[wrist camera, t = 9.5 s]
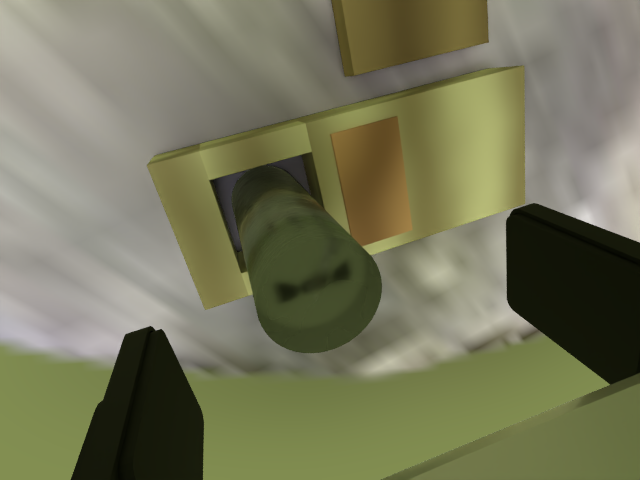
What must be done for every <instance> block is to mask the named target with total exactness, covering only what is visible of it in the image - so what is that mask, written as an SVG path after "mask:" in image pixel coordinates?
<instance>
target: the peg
mask: <svg viewBox="0 0 640 480" xmlns="http://www.w3.org/2000/svg"><path fill="white" fill-rule="evenodd" d="M232 207H233V212H234V216H235V220H236V224H237V229H238V233H239V237H240V242H241V246H242V250H243V254H244V259H245V263H246V267H247V271H248V276H249V280H250V284H251V288H252V293H253V297H254V301H255V306H256V310H257V314H258V318H259V321H260V323H261V326H262V327H263V329H264V331H265V332H266V333H267V335H268V336H269V337H270V338H271V339H272V340H273V341H275V342H276V343H277V344H279V345H280V346H282V347H284V348H287V349H289V350H292V351H296V352H301V353H319V352H324V351H329V350H332V349H335V348H337V347H340V346H342V345H344V344H346V343H347V342H349V341H350V340H352V339H353V338H355V337H356V336H357V335H358V334H359V333H361V332H362V331H363V330H364V328H365V327H366V326H367V325H368V324H369V322H370V321H371V319H372V318H373V316H374V314H375V312H376V310H377V308H378V305H379V302H380V298H381V292H382V283H381V276H380V272H379V269H378V267H377V264H376V263H375V261H374V259H373V258H372V257H371V256H370V254H369V253H368V252H367V251H366V250H365V249H364V248H363V247H362V246H361V245H360V244H359V243H358V242H357V241H356V240H355V239H354V238H353V237H352V236H351V235H350V234H349V233H348V232H347V231H346V230H345V229H344V228H343V227H342V226H341V225H340V224H339V223H338V222H337V221H336V220H335V219H334V218H333V217H332V216H331V215H330V214H329V213H328V212H327V211H326V210H325V209H324V208H323V207H322V206H321V205H320V204H319V203H318V202H317V201H316V200H315V199H314V198H313V197H312V196H311V195H310V194H309V193H308V192H307V191H306V190H305V189H304V188H303V187H302V186H301V185H300V184H299V183H298V182H297V181H296V180H295V179H294V178H293V177H292V176H291V175H290V174H289V173H288V172H286V171H285V170H283V169H281V168H278V167H275V166H269V165H264V166H258V167H255V168H252V169H250V170H248V171H247V172H245V173H244V174H243V175H242V176H241V177H240V178H239V179H238V181H237V182H236V184H235V186H234V188H233V191H232Z"/></svg>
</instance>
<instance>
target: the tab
mask: <svg viewBox="0 0 640 480" xmlns="http://www.w3.org/2000/svg"><path fill="white" fill-rule="evenodd" d="M331 1H332V7H333V12H334V18H335V24H336V29H337V35H338V40H339V46H340V52H341V57H342V63H343V69H344V74H345V77H346V76H355V75H359V74H363V73H367V72H371V71H375V70H379V69H383V68H387V67H391V66H395V65H399V64H403V63H407V62H411V61H415V60H419V59H423V58H427V57H431V56H435V55H439V54H443V53H447V52H451V51H455V50H459V49H463V48H467V47H471V46H475V45H479V44H483V43H487V42H489V39H488V13H487V0H331Z"/></svg>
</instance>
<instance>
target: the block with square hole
mask: <svg viewBox="0 0 640 480" xmlns="http://www.w3.org/2000/svg"><path fill="white" fill-rule="evenodd" d="M298 155H302V159H303V164H304V168H305V172H306V176H307V180H308V185H309V189H310V193H311V196H312V197H313V198H314V199H315V200H316V201H317V202H318V203H319V204H320V205H321V206H322V207H323V208H324V209H325V210H326V211H327V212H328V213H329V214H330V215H331V216H332V217H333V218H334V219H335V220H336V221H337V222H338V223H339V224H340V225H341V226H342V227H343V228H344V229H345V230H346V231H347V232H348V233H349V234H350V235H351V236H352V237H353V238H354V239H355V240H356V241H357V242H358V243H359V244H360V245H361V246H362V247H363V248H364V249H365V250H366V251H367V252H368V253H369V254H370V255H373V254H376V253H379V252H382V251H385V250H388V249H391V248H394V247H397V246H400V245H403V244H406V243H409V242H412V241H415V240H418V239H421V238H424V237H427V236H430V235H433V234H436V233H439V232H442V231H445V230H448V229H451V228H454V227H457V226H460V225H463V224H466V223H469V222H472V221H475V220H478V219H481V218H484V217H487V216H490V215H493V214H496V213H499V212H502V211H505V210H508V209H511V208H514V207H517V206H520V205H523V204H525V108H524V66H512V67H500V68H488V69H484V70H480V71H476V72H473V73H469V74H465V75H461V76H457V77H453V78H450V79H446V80H442V81H438V82H434V83H430V84H427V85H423V86H419V87H415V88H411V89H407V90H404V91H400V92H396V93H392V94H388V95H384V96H381V97H377V98H373V99H369V100H365V101H362V102H358V103H354V104H350V105H346V106H342V107H339V108H335V109H331V110H327V111H323V112H319V113H316V114H312V115H308V116H304V117H300V118H296V119H293V120H289V121H285V122H281V123H277V124H273V125H270V126H266V127H262V128H258V129H254V130H250V131H247V132H243V133H239V134H235V135H231V136H228V137H224V138H220V139H216V140H212V141H208V142H205V143H201V144H197V145H193V146H189V147H185V148H182V149H178V150H174V151H170V152H166V153H162V154H159V155H155V156H154V157H153V158H152V159H151V161H150V162H149V163H148V164H147V167H148V169H149V172H150V174H151V177H152V179H153V182H154V184H155V187H156V189H157V192H158V194H159V197H160V199H161V202H162V204H163V207H164V209H165V212H166V214H167V217H168V219H169V221H170V224H171V226H172V229H173V231H174V234H175V236H176V239H177V241H178V244H179V246H180V249H181V251H182V254H183V256H184V259H185V261H186V264H187V266H188V269H189V271H190V274H191V276H192V279H193V281H194V283H195V286H196V288H197V291H198V293H199V296H200V298H201V301H202V303H203V306H204V308H205V310H207V309H210V308H213V307H216V306H219V305H222V304H225V303H228V302H231V301H234V300H237V299H240V298H243V297H246V296H249V295H252V294H253V293H252V288H251V284H250V280H249V276H248V271H247V267H246V263H245V259H244V254H243V251H241V252H237V251H236V248H235V245H234V242H233V239H232V236H231V233H230V231H229V228H228V225H227V222H226V219H225V216H224V213H223V210H222V207H221V204H220V201H219V198H218V195H217V192H216V189H215V186H214V183H213V180H212V179H215V178H219V177H222V176H226V175H230V174H233V173H237V172H240V171H244V170H248V169H251V168H255V167H258V166H262V165H266V164H269V163H273V162H276V161H280V160H284V159H287V158H291V157H294V156H298Z"/></svg>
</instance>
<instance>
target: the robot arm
mask: <svg viewBox="0 0 640 480" xmlns="http://www.w3.org/2000/svg"><path fill="white" fill-rule="evenodd" d="M506 258H507V301H508V304H509V306H510V307H511V308H512V310H513V311H515V312H516V313H517V314H519V315H520V316H521V317H522V318H524V319H525V320H526V321H528V322H529V323H530V324H532V325H533V326H534V327H536V328H537V329H538V330H540V331H541V332H542V333H543V334H545V335H546V336H547V337H549V338H550V339H551V340H553V341H554V342H555V343H557V344H558V345H559V346H561V347H562V348H563V349H564V350H566V351H567V352H568V353H570V354H571V355H572V356H574V357H575V358H576V359H578V360H579V361H580V362H582V363H583V364H584V365H586V366H587V367H588V368H589V369H591V370H592V371H593V372H595V373H596V374H597V375H599V376H600V377H601V378H603V379H604V380H605V381H607V382H608V383H609V384H610V385H609V386H607V387H604V388H602V389H599V390H597V391H594V392H592V393H589V394H587V395H584V396H582V397H580V398H577V399H575V400H572V401H570V402H567V403H565V404H562V405H560V406H557V407H555V408H553V409H550V410H548V411H545V412H543V413H540V414H538V415H536V416H533V417H531V418H528V419H526V420H524V421H521V422H519V423H516V424H514V425H511V426H509V427H506V428H504V429H502V430H499V431H497V432H494V433H492V434H489V435H487V436H485V437H482V438H480V439H478V440H475V441H473V442H470V443H468V444H465V445H463V446H461V447H458V448H456V449H454V450H451V451H448V452H446V453H444V454H441V455H439V456H436V457H434V458H431V459H429V460H427V461H424V462H422V463H420V464H417V465H415V466H412V467H410V468H408V469H405V470H403V471H400V472H398V473H396V474H393V475H391V476H389V477H386V478H384V479H381V480H640V243H639V242H637V241H634V240H631V239H629V238H626V237H623V236H621V235H618V234H615V233H613V232H610V231H608V230H605V229H602V228H600V227H597V226H594V225H592V224H589V223H586V222H584V221H581V220H579V219H576V218H573V217H571V216H568V215H565V214H563V213H560V212H557V211H555V210H552V209H550V208H547V207H544V206H542V205H539V204H535V203H533V204H529V205H526V206H523V207H520V208H517V209H514V210H513V211H512V212H511V214H510V216H509V217H508V218H507V220H506ZM203 435H204V420H203V414H202V411H201V408H200V406H199V404H198V402H197V399H196V397H195V395H194V393H193V391H192V389H191V387H190V385H189V383H188V381H187V378H186V376H185V374H184V372H183V370H182V368H181V366H180V364H179V362H178V360H177V358H176V355H175V353H174V351H173V349H172V347H171V345H170V343H169V341H168V339H167V337H166V334H165V333H164V331H163V330H162V329H160V330H157V331H155V329H154V328H153V327H151V326H149V327H146V328H143V329H140V330H137V331H134V332H131V333H128V334H126V335H125V336H124V339H123V342H122V345H121V348H120V351H119V354H118V357H117V360H116V363H115V366H114V369H113V372H112V375H111V378H110V382H109V384H108V387H107V390H106V393H105V396H104V399H103V401H101V402H100V403H99V404H98V405H97V407H96V409H95V412H94V415H93V417H92V420H91V423H90V426H89V429H88V432H87V435H86V438H85V441H84V443H83V446H82V449H81V452H80V455H79V458H78V461H77V463H76V466H75V469H74V472H73V475H72V478H71V480H203V439H204V437H203Z"/></svg>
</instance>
